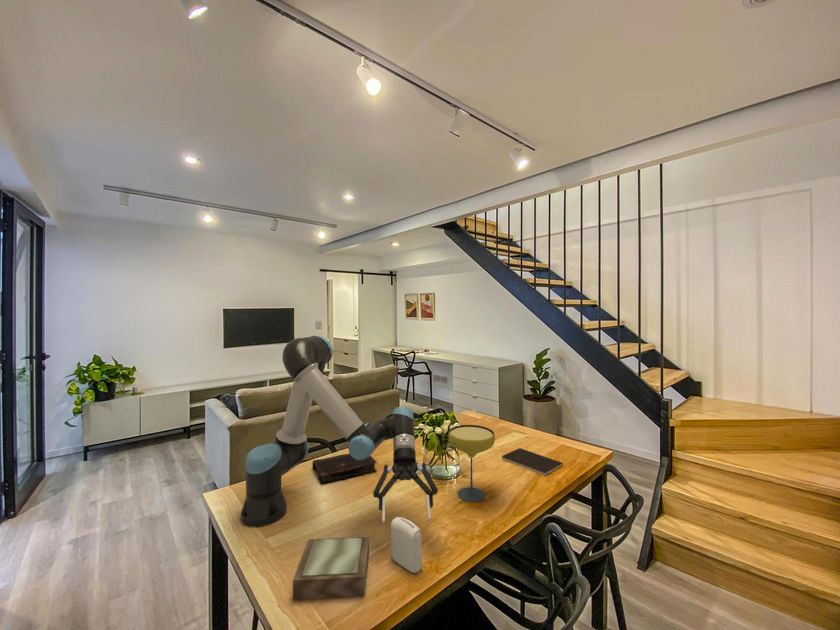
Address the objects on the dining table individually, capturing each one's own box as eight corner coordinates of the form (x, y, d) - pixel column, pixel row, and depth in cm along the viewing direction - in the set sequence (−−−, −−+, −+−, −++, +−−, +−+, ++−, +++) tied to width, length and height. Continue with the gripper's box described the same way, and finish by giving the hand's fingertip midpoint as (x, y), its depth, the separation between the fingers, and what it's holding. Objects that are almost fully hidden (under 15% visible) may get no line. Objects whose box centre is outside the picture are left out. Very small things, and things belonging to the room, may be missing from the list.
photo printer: (388, 558, 105) (388, 517, 105) (399, 551, 108) (399, 511, 108) (413, 576, 98) (413, 532, 98) (424, 568, 101) (424, 525, 101)
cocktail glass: (502, 504, 134) (502, 438, 134) (456, 510, 130) (456, 442, 130) (483, 481, 152) (484, 423, 151) (443, 486, 148) (443, 426, 147)
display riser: (293, 599, 90) (292, 578, 90) (308, 555, 106) (308, 538, 106) (364, 595, 92) (364, 575, 91) (369, 553, 107) (369, 535, 107)
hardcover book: (544, 477, 156) (544, 472, 156) (501, 460, 174) (501, 455, 174) (562, 467, 167) (562, 462, 167) (520, 452, 184) (520, 447, 184)
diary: (312, 470, 164) (312, 459, 164) (363, 459, 176) (363, 448, 176) (322, 487, 148) (322, 475, 148) (378, 473, 160) (378, 462, 160)
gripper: (366, 447, 118) (363, 519, 103) (441, 444, 120) (449, 514, 105) (368, 456, 123) (365, 526, 108) (439, 454, 125) (446, 521, 110)
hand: (406, 520), depth 107 cm, fingers open, 13 cm apart
